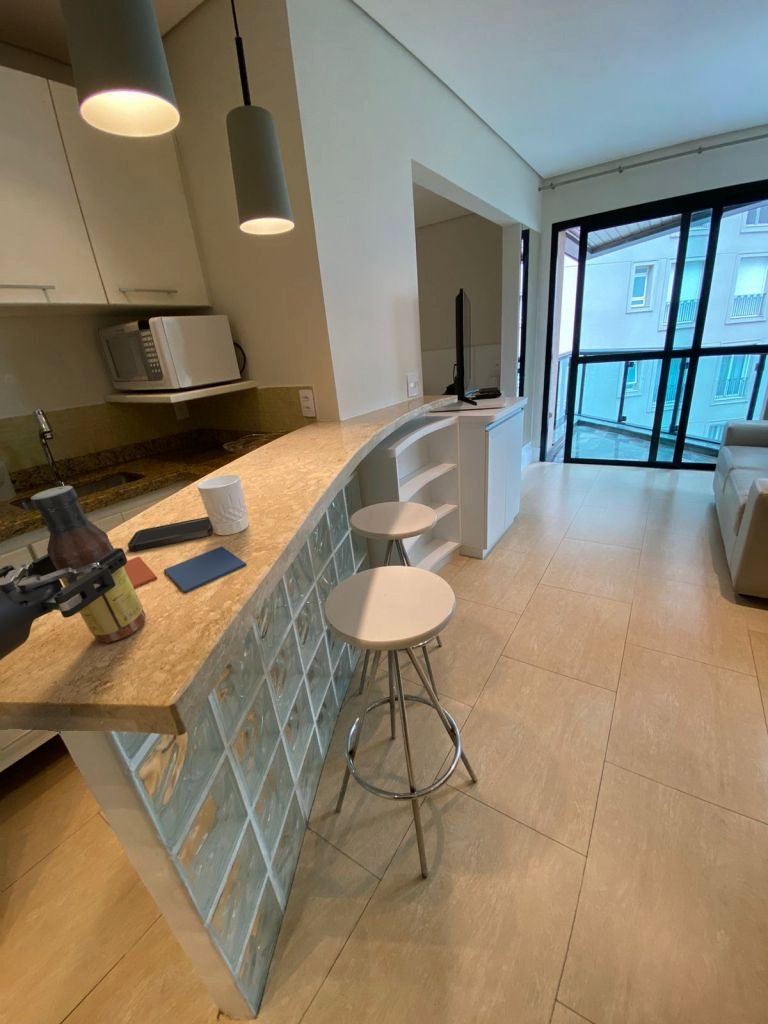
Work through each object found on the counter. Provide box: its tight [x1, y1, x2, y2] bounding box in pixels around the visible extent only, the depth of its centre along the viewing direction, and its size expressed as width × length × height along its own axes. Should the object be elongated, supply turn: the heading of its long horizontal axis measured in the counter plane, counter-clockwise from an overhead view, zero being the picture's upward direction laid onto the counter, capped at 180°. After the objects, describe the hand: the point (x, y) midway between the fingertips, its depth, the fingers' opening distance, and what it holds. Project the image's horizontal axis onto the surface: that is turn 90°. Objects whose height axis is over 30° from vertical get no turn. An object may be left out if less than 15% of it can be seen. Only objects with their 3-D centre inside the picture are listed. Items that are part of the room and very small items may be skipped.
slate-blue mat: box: [163, 545, 247, 594], centre depth 67 cm, size 10×10×1 cm
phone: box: [127, 516, 214, 552], centre depth 81 cm, size 8×1×15 cm
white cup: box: [196, 474, 250, 536], centre depth 80 cm, size 8×8×10 cm
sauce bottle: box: [30, 485, 147, 644], centre depth 50 cm, size 6×6×20 cm
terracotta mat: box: [123, 556, 158, 589], centre depth 66 cm, size 11×11×1 cm
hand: (93, 554), depth 50 cm, fingers open, 8 cm apart
